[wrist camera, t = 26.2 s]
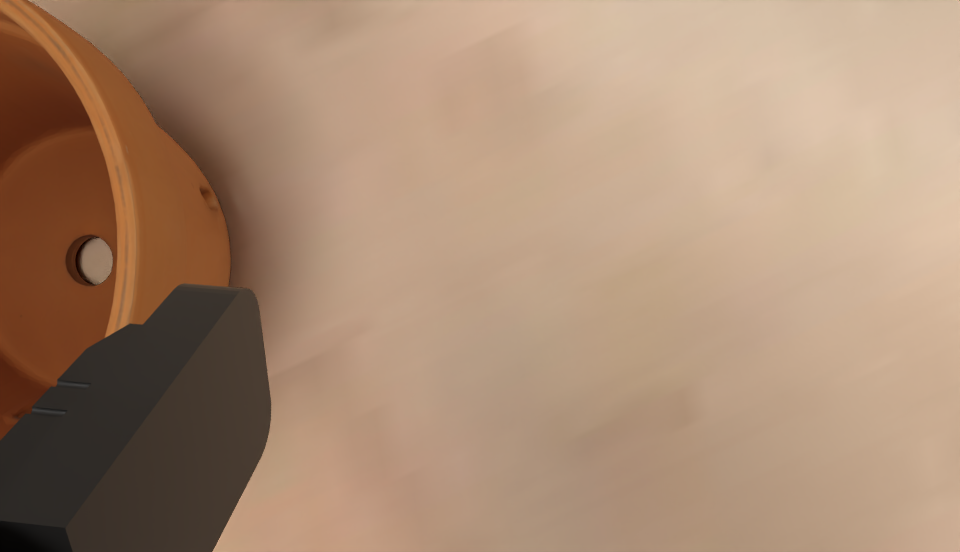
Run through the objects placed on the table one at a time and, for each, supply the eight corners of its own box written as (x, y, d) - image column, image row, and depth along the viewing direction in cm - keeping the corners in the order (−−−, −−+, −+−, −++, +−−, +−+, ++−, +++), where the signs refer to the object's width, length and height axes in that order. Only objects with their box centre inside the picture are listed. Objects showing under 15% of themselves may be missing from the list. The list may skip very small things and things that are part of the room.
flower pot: (-69, 51, 45) (-394, -55, 30) (305, 55, 42) (145, -60, 27) (-85, 443, 45) (-414, 525, 31) (286, 476, 42) (117, 585, 28)
